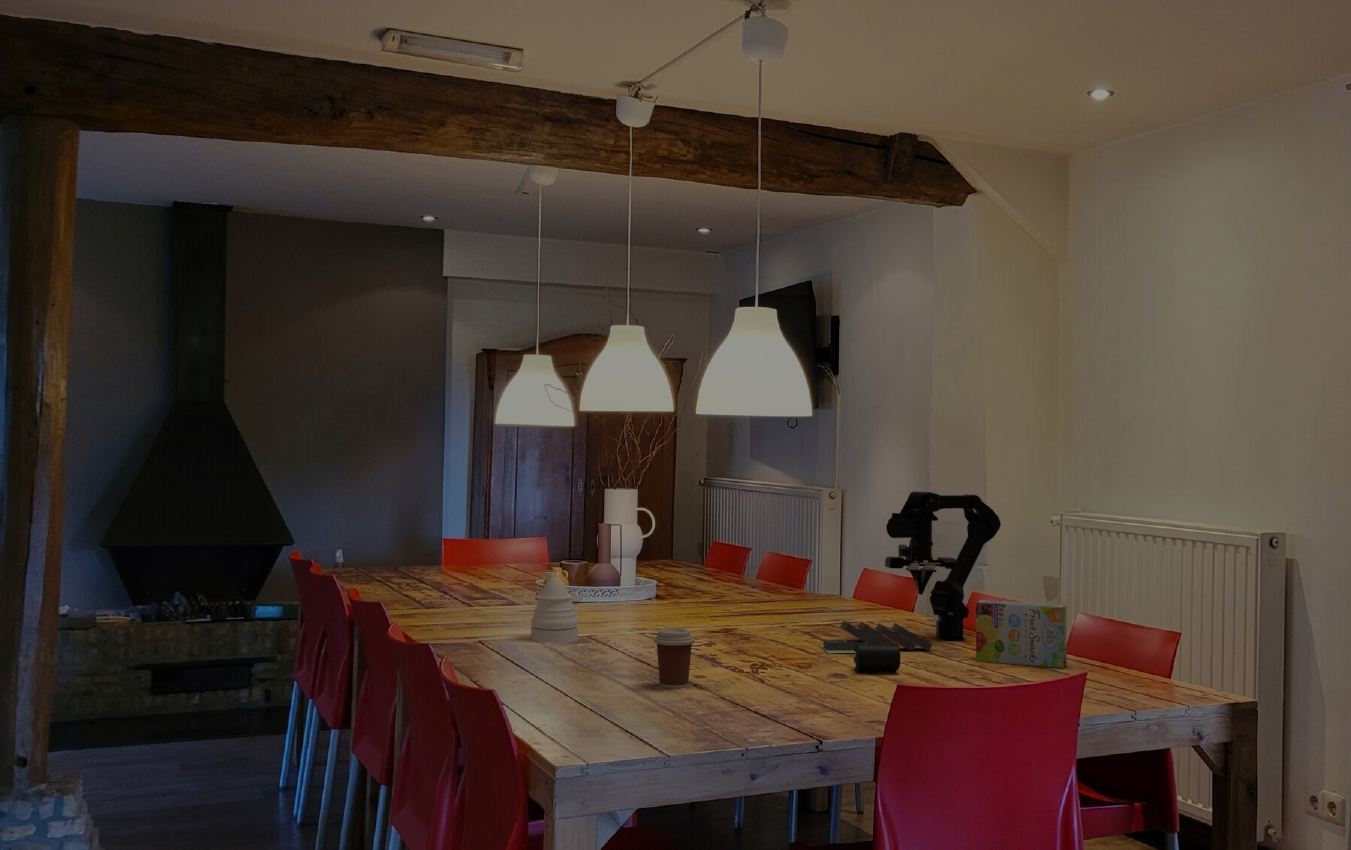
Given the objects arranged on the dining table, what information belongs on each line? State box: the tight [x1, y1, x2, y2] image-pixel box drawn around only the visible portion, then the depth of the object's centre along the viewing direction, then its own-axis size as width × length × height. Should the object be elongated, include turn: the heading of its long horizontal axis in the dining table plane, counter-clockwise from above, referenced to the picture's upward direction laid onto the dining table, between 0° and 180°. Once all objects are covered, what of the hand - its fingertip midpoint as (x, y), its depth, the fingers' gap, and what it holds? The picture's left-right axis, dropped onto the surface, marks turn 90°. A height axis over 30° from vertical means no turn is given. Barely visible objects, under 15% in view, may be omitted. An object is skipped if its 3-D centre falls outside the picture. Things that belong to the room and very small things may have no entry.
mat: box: [818, 644, 856, 655], centre depth 296 cm, size 9×12×1 cm
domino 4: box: [890, 622, 933, 652], centre depth 297 cm, size 2×5×10 cm
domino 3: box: [874, 623, 917, 652], centre depth 297 cm, size 2×5×10 cm
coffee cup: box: [653, 627, 696, 689], centre depth 250 cm, size 9×9×12 cm
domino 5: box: [822, 638, 866, 651], centre depth 296 cm, size 2×5×10 cm
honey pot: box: [530, 571, 579, 644], centre depth 308 cm, size 13×13×18 cm
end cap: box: [853, 643, 901, 673], centre depth 267 cm, size 10×7×7 cm
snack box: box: [975, 599, 1067, 669], centre depth 280 cm, size 21×6×15 cm, turn 65°
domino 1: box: [839, 620, 881, 644], centre depth 296 cm, size 2×5×10 cm
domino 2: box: [856, 621, 896, 644], centre depth 297 cm, size 2×5×10 cm
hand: (920, 594), depth 310 cm, fingers closed
